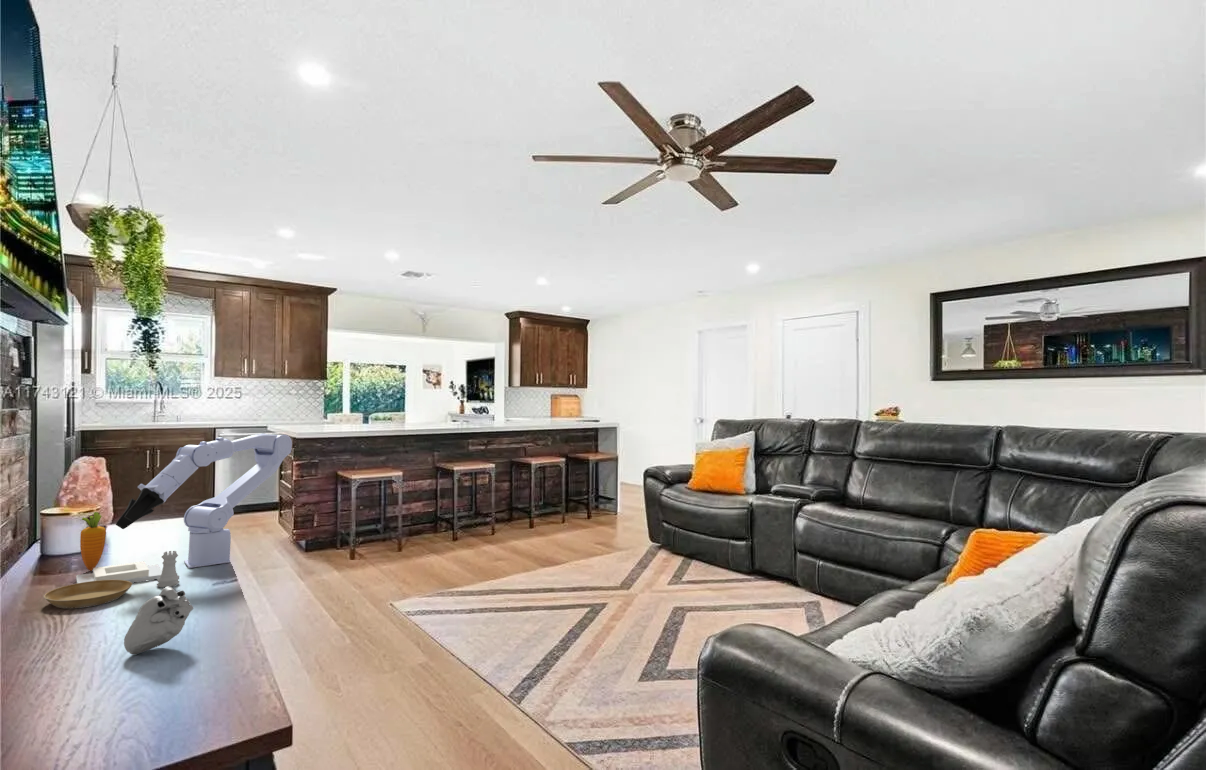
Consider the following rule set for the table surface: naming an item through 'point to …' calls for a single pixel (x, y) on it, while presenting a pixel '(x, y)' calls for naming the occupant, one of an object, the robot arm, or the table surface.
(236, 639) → the table surface
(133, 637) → the heart
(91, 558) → the carrot
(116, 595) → the plant saucer
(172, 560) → the rook chess piece
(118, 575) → the holder stand
